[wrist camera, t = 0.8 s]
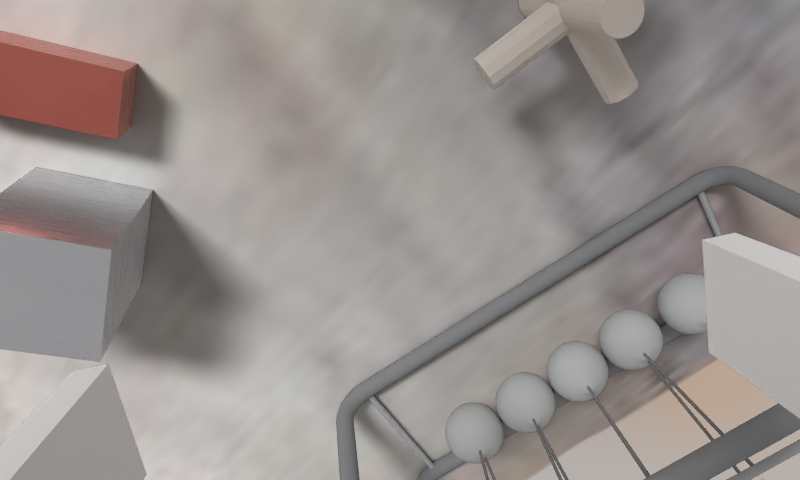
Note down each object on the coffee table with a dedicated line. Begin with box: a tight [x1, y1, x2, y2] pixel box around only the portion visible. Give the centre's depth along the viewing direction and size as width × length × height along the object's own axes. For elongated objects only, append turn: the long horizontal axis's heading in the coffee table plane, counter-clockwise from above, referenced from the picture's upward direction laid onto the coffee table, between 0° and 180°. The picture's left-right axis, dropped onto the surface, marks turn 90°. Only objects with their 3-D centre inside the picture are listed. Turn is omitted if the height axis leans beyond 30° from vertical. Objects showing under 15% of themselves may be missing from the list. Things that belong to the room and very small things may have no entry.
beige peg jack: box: [473, 0, 645, 104], centre depth 28 cm, size 10×10×10 cm
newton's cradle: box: [336, 166, 800, 480], centre depth 34 cm, size 30×10×18 cm, turn 123°
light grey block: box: [0, 167, 153, 362], centre depth 31 cm, size 6×6×8 cm
